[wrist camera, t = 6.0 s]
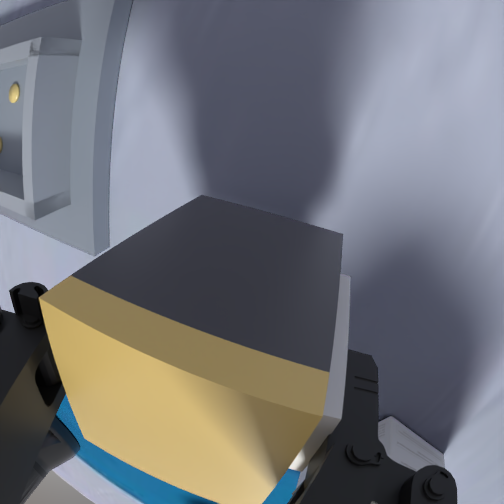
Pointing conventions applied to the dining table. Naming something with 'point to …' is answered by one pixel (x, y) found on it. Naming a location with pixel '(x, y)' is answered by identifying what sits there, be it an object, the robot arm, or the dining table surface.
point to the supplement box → (403, 447)
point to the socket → (60, 118)
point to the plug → (202, 346)
